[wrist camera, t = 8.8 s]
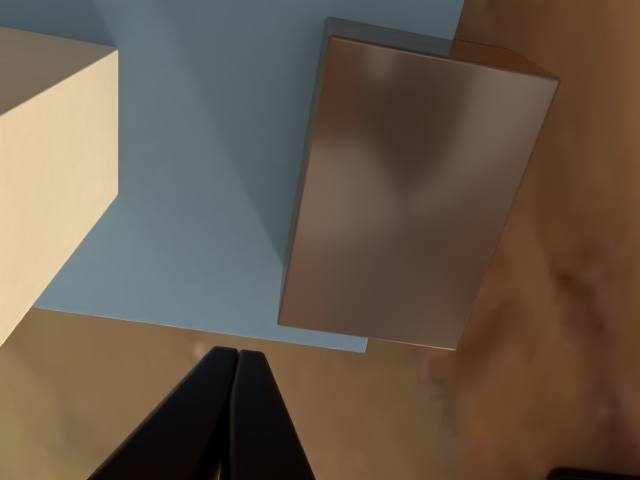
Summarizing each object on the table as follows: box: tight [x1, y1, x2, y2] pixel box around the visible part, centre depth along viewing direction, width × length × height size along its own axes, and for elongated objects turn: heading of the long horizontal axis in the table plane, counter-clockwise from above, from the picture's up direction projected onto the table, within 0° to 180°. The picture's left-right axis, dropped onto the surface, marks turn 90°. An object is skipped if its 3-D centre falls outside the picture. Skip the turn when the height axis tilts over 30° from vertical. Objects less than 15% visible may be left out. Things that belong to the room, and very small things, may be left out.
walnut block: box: [277, 17, 560, 350], centre depth 17 cm, size 6×9×4 cm, turn 170°
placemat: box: [0, 0, 465, 353], centre depth 18 cm, size 18×16×1 cm
